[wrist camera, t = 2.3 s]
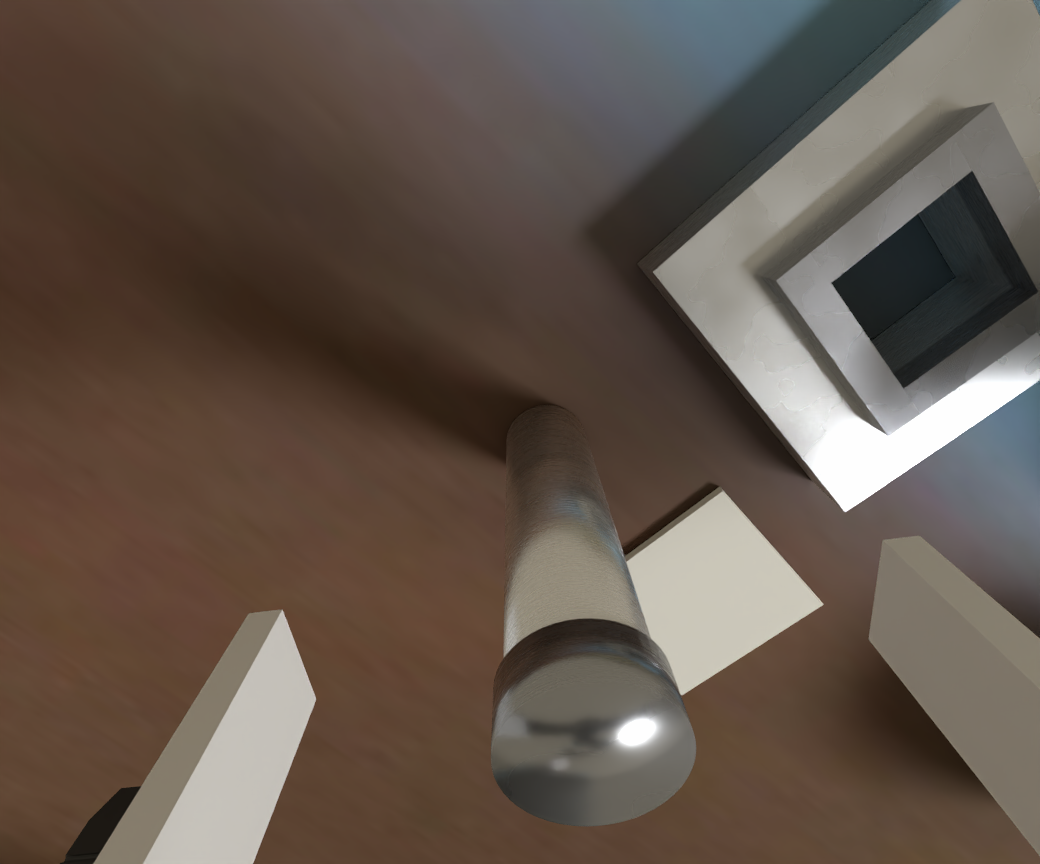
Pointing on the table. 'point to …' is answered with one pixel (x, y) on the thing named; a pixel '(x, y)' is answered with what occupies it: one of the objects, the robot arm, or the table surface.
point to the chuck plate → (861, 228)
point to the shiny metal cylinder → (577, 647)
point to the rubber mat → (714, 589)
